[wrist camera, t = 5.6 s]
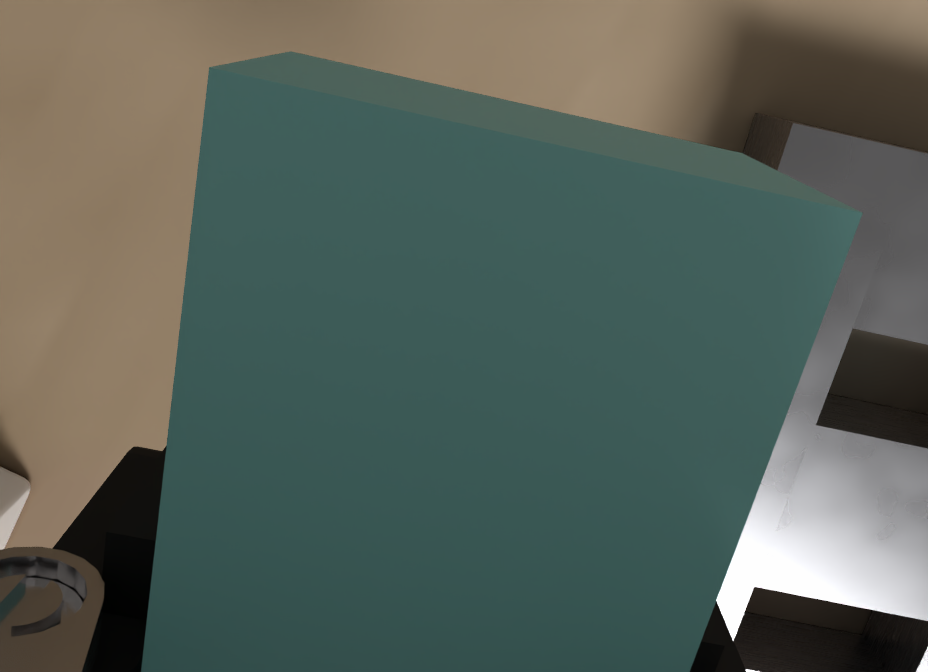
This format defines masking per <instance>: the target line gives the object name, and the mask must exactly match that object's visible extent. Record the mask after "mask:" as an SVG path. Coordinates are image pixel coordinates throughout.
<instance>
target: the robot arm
mask: <svg viewBox="0 0 928 672" xmlns="http://www.w3.org/2000/svg"><path fill="white" fill-rule="evenodd" d="M165 455H166V447H165V449H164V450H163V451H158V450H153V449H148V448H142V447H133V448H132V449H131V450H129V451H128V452H127V454H126V455H125V456H124V458H123V459H122V460H121V461H120V463H119V464H118V465H117V466H116V468H115V469H114V470H113V472H112V473H111V474H110V475H109V477H108V478H107V479H106V481H105V482H104V483H103V484H102V486H101V487H100V488H99V490H98V491H97V492H96V493H95V495H94V496H93V497H92V499H91V500H90V501H89V502H88V504H87V505H86V506H85V508H84V509H83V510H82V511H81V513H80V514H79V515H78V516H77V518H76V519H75V520H74V522H73V523H72V524H71V525H70V527H69V528H68V529H67V531H66V532H65V533H64V534H63V536H62V537H61V538H60V540H59V541H58V542H57V543H56V545H55V546H54V547H53V549H51V548H45V547H13V548H7V549H2V550H0V672H141V668H142V659H143V650H144V641H145V632H146V623H147V614H148V606H149V597H150V588H151V579H152V570H153V561H154V553H155V544H156V535H157V526H158V517H159V508H160V499H161V491H162V482H163V473H164V464H165ZM690 672H747V671H746V669H745V667H744V664H743V662H742V660H741V657H740V655H739V653H738V650H737V648H736V646H735V643H734V641H733V639H732V636H731V634H730V632H729V629H728V627H727V625H726V622H725V620H724V617H723V615H722V613H721V610H720V608H719V606H718V603H717V601H716V603H715V606H714V608H713V611H712V614H711V616H710V619H709V621H708V624H707V627H706V629H705V632H704V635H703V637H702V640H701V643H700V645H699V648H698V651H697V653H696V656H695V659H694V661H693V664H692V666H691V669H690Z"/></svg>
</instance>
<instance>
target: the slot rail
mask: <svg viewBox="0 0 928 672" xmlns="http://www.w3.org/2000/svg"><path fill="white" fill-rule="evenodd" d="M743 154H745V155H747V156H749V157H751V158H753V159H755V160H757V161H759V162H761V163H763V164H765V165H767V166H769V167H771V168H773V169H775V170H777V171H779V172H781V173H783V174H785V175H787V176H789V177H791V178H793V179H795V180H797V181H799V182H801V183H803V184H805V185H807V186H809V187H811V188H814V189H816V190H818V191H820V192H822V193H824V194H826V195H828V196H830V197H832V198H834V199H836V200H838V201H840V202H842V203H844V204H846V205H848V206H850V207H852V208H854V209H856V210H858V211H860V212H862V213H863V214H862V216H861V219H860V222H859V224H858V227H857V230H856V232H855V235H854V238H853V240H852V243H851V246H850V248H849V251H848V254H847V256H846V259H845V261H844V264H843V267H842V269H841V272H840V275H839V277H838V280H837V283H836V285H835V288H834V291H833V293H832V296H831V299H830V301H829V304H828V306H827V309H826V312H825V314H824V317H823V320H822V322H821V325H820V328H819V330H818V333H817V336H816V338H815V341H814V344H813V346H812V349H811V351H810V354H809V357H808V359H807V362H806V365H805V367H804V370H803V373H802V375H801V378H800V381H799V383H798V386H797V389H796V391H795V394H794V396H793V399H792V402H791V404H790V407H789V410H788V412H787V415H786V418H785V420H784V423H783V426H782V428H781V431H780V434H779V436H778V439H777V441H776V444H775V447H774V449H773V452H772V455H771V457H770V460H769V463H768V465H767V468H766V471H765V473H764V476H763V479H762V481H761V484H760V486H759V489H758V492H757V494H756V497H755V500H754V502H753V505H752V508H751V510H750V513H749V516H748V518H747V521H746V524H745V526H744V529H743V531H742V534H741V537H740V539H739V542H738V545H737V547H736V550H735V553H734V555H733V558H732V561H731V563H730V566H729V569H728V571H727V574H726V576H725V579H724V582H723V584H722V587H721V590H720V592H719V595H718V598H717V600H716V601H717V603H718V606H719V608H720V610H721V613H722V615H723V617H724V620H725V622H726V625H727V627H728V629H729V632H730V634H731V636H732V639H733V641H734V643H735V646H736V648H737V650H738V653H739V655H740V657H741V660H742V662H743V664H744V667H745V669H746V671H747V672H928V415H926V414H921V413H917V412H912V411H907V410H902V409H898V408H893V407H888V406H884V405H879V404H874V403H869V402H865V401H860V400H855V399H851V398H846V397H841V396H836V395H832V394H828V392H829V389H830V386H831V384H832V381H833V379H834V376H835V373H836V371H837V368H838V365H839V363H840V360H841V358H842V355H843V352H844V350H845V347H846V344H847V342H848V339H849V337H850V334H851V331H852V329H858V330H862V331H867V332H871V333H876V334H881V335H885V336H890V337H895V338H899V339H904V340H908V341H913V342H918V343H922V344H927V345H928V152H924V151H920V150H916V149H911V148H907V147H903V146H898V145H894V144H890V143H885V142H881V141H877V140H872V139H868V138H863V137H859V136H855V135H850V134H846V133H842V132H837V131H833V130H829V129H824V128H820V127H815V126H811V125H807V124H802V123H798V122H794V121H789V120H785V119H781V118H776V117H772V116H768V115H763V114H759V113H755V117H754V120H753V123H752V126H751V129H750V132H749V136H748V139H747V142H746V145H745V148H744V151H743ZM754 587H759V588H764V589H769V590H774V591H779V592H784V593H789V594H794V595H799V596H804V597H810V598H815V599H820V600H825V601H830V602H835V603H840V604H845V605H850V606H855V607H860V608H865V609H870V610H873V611H872V613H871V615H870V618H869V620H868V622H867V624H866V627H865V629H864V631H863V634H862V635H858V634H853V633H848V632H843V631H838V630H833V629H828V628H823V627H818V626H812V625H807V624H802V623H797V622H792V621H787V620H782V619H777V618H772V617H767V616H762V615H757V614H752V613H746V612H745V609H746V607H747V604H748V601H749V599H750V596H751V594H752V591H753V588H754Z"/></svg>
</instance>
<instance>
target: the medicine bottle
mask: <svg viewBox="0 0 928 672" xmlns="http://www.w3.org/2000/svg"><path fill="white" fill-rule="evenodd" d="M30 488H31V485H30V483H29V481H28V480H26V479H25V478H24V477H21V476H19V475H17V474H15V473H13V472H11V471H9V470H7V469H4V468H2V467H0V550H2V549H4V548H5V546H6V544H7V541H8V539H9V537H10V535H11V533H12V530H13V528H14V526H15V524H16V521H17V519H18V517H19V515H20V513H21V510H22V508H23V506H24V504H25V501H26V499H27V497H28V495H29V492H30Z"/></svg>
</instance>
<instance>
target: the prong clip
mask: <svg viewBox="0 0 928 672" xmlns="http://www.w3.org/2000/svg"><path fill="white" fill-rule="evenodd" d="M862 214H863V213H862V212H860V211H858V210H856V209H854V208H852V207H850V206H848V205H846V204H844V203H842V202H840V201H838V200H836V199H834V198H832V197H830V196H828V195H826V194H824V193H822V192H820V191H818V190H816V189H814V188H811V187H809V186H807V185H805V184H803V183H801V182H799V181H797V180H795V179H793V178H791V177H789V176H787V175H785V174H783V173H781V172H779V171H777V170H775V169H773V168H771V167H769V166H767V165H765V164H763V163H761V162H759V161H757V160H755V159H753V158H751V157H749V156H747V155H745V154H743V153H739V152H734V151H730V150H726V149H721V148H717V147H712V146H708V145H703V144H699V143H695V142H690V141H686V140H681V139H677V138H672V137H668V136H664V135H659V134H655V133H650V132H646V131H641V130H637V129H632V128H628V127H624V126H619V125H615V124H610V123H606V122H601V121H597V120H593V119H588V118H584V117H579V116H575V115H570V114H566V113H561V112H557V111H553V110H548V109H544V108H539V107H535V106H530V105H526V104H522V103H517V102H513V101H508V100H504V99H499V98H495V97H490V96H486V95H482V94H477V93H473V92H468V91H464V90H459V89H455V88H451V87H446V86H442V85H437V84H433V83H428V82H424V81H420V80H415V79H411V78H406V77H402V76H397V75H393V74H388V73H384V72H380V71H375V70H371V69H366V68H362V67H357V66H353V65H349V64H344V63H340V62H335V61H331V60H326V59H322V58H317V57H313V56H309V55H304V54H300V53H295V52H286V53H281V54H275V55H270V56H265V57H260V58H255V59H250V60H245V61H239V62H234V63H229V64H224V65H219V66H214V67H209V75H208V84H207V93H206V101H205V110H204V119H203V128H202V137H201V146H200V154H199V163H198V172H197V181H196V190H195V199H194V208H193V216H192V225H191V234H190V243H189V252H188V261H187V269H186V278H185V287H184V296H183V305H182V314H181V323H180V331H179V340H178V349H177V358H176V367H175V376H174V384H173V393H172V402H171V411H170V420H169V429H168V438H167V446H166V455H165V464H164V473H163V482H162V491H161V499H160V508H159V517H158V526H157V535H156V544H155V553H154V561H153V570H152V579H151V588H150V597H149V606H148V614H147V623H146V632H145V641H144V650H143V659H142V668H141V672H690V669H691V666H692V664H693V661H694V659H695V656H696V653H697V651H698V648H699V645H700V643H701V640H702V637H703V635H704V632H705V629H706V627H707V624H708V621H709V619H710V616H711V614H712V611H713V608H714V606H715V603H716V600H717V598H718V595H719V592H720V590H721V587H722V584H723V582H724V579H725V576H726V574H727V571H728V569H729V566H730V563H731V561H732V558H733V555H734V553H735V550H736V547H737V545H738V542H739V539H740V537H741V534H742V531H743V529H744V526H745V524H746V521H747V518H748V516H749V513H750V510H751V508H752V505H753V502H754V500H755V497H756V494H757V492H758V489H759V486H760V484H761V481H762V479H763V476H764V473H765V471H766V468H767V465H768V463H769V460H770V457H771V455H772V452H773V449H774V447H775V444H776V441H777V439H778V436H779V434H780V431H781V428H782V426H783V423H784V420H785V418H786V415H787V412H788V410H789V407H790V404H791V402H792V399H793V396H794V394H795V391H796V389H797V386H798V383H799V381H800V378H801V375H802V373H803V370H804V367H805V365H806V362H807V359H808V357H809V354H810V351H811V349H812V346H813V344H814V341H815V338H816V336H817V333H818V330H819V328H820V325H821V322H822V320H823V317H824V314H825V312H826V309H827V306H828V304H829V301H830V299H831V296H832V293H833V291H834V288H835V285H836V283H837V280H838V277H839V275H840V272H841V269H842V267H843V264H844V261H845V259H846V256H847V254H848V251H849V248H850V246H851V243H852V240H853V238H854V235H855V232H856V230H857V227H858V224H859V222H860V219H861V216H862Z"/></svg>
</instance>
